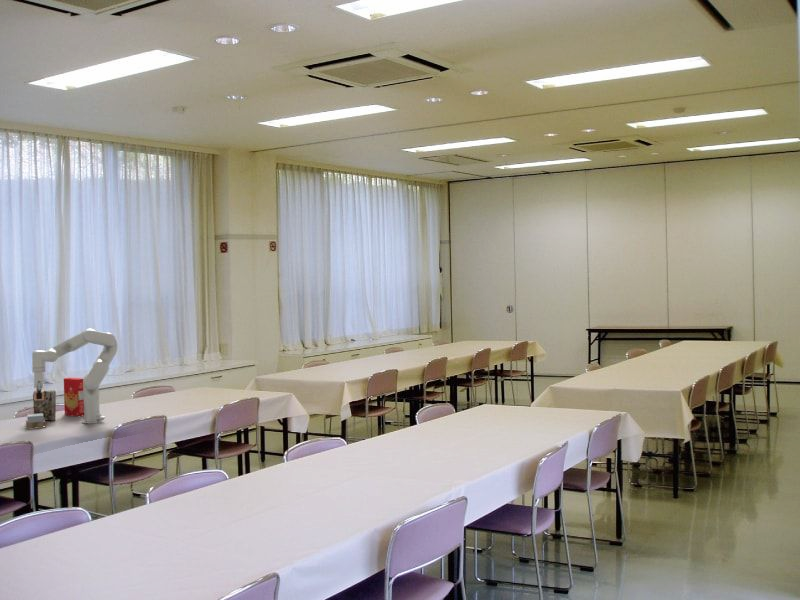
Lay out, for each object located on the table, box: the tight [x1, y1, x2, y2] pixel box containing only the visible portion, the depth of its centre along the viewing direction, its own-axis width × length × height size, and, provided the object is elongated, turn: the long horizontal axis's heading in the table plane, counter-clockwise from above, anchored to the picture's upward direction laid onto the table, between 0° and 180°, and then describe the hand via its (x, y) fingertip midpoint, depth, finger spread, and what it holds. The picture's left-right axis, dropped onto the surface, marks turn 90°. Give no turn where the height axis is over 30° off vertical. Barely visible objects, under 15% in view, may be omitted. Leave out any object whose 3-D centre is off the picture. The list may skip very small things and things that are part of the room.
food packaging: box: [63, 377, 84, 417], centre depth 553 cm, size 15×5×25 cm, turn 60°
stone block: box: [32, 389, 57, 421], centre depth 535 cm, size 13×7×20 cm, turn 92°
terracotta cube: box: [33, 389, 44, 402], centre depth 514 cm, size 6×6×6 cm
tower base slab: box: [25, 419, 47, 429], centre depth 514 cm, size 11×11×4 cm
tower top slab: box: [26, 413, 44, 423], centre depth 514 cm, size 9×9×4 cm
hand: (38, 398), depth 514 cm, fingers closed on terracotta cube, 5 cm apart
